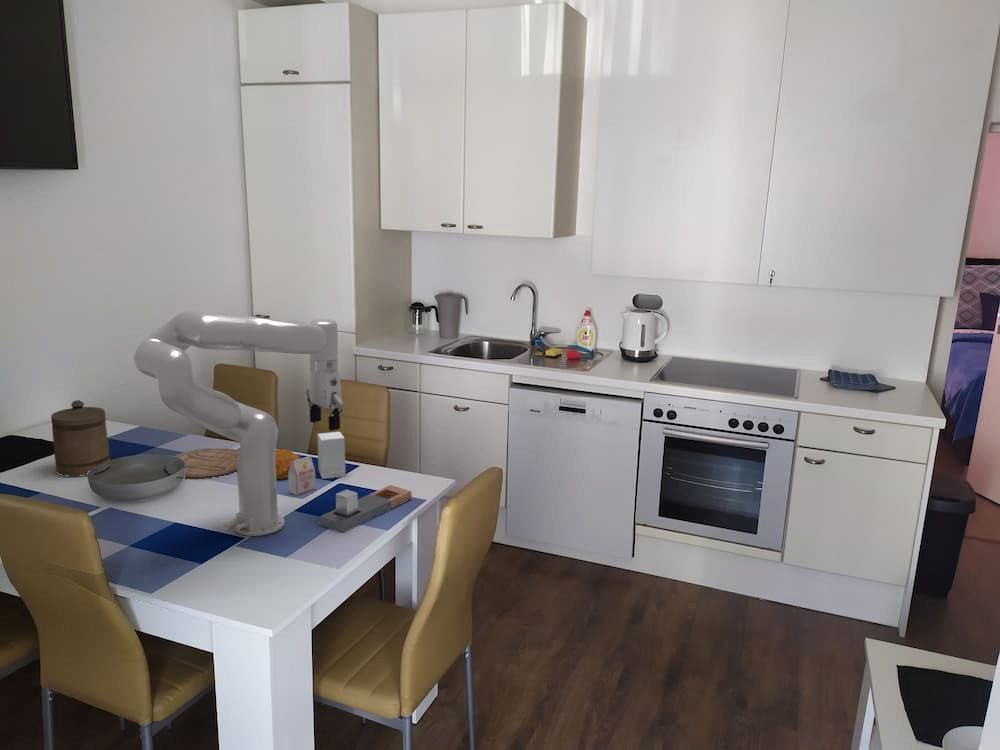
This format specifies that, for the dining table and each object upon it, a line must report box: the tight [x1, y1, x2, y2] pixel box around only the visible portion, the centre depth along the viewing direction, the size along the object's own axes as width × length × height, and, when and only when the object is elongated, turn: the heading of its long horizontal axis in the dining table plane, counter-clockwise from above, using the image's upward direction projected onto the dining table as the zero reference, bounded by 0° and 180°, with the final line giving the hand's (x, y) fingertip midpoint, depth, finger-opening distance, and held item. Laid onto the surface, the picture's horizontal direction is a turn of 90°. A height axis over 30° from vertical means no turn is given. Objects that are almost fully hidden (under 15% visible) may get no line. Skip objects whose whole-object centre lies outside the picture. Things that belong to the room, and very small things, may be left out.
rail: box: [319, 484, 412, 533], centre depth 213 cm, size 28×8×2 cm, turn 147°
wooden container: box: [50, 399, 111, 477], centre depth 237 cm, size 15×15×22 cm
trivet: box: [173, 447, 240, 480], centre depth 246 cm, size 25×25×2 cm
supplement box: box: [317, 431, 346, 480], centre depth 240 cm, size 7×7×13 cm
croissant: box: [275, 448, 300, 481], centre depth 240 cm, size 14×16×8 cm
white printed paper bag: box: [287, 455, 316, 496], centre depth 226 cm, size 4×7×10 cm, turn 141°
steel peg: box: [335, 489, 359, 518], centre depth 206 cm, size 4×4×8 cm
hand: (324, 425), depth 213 cm, fingers open, 9 cm apart
